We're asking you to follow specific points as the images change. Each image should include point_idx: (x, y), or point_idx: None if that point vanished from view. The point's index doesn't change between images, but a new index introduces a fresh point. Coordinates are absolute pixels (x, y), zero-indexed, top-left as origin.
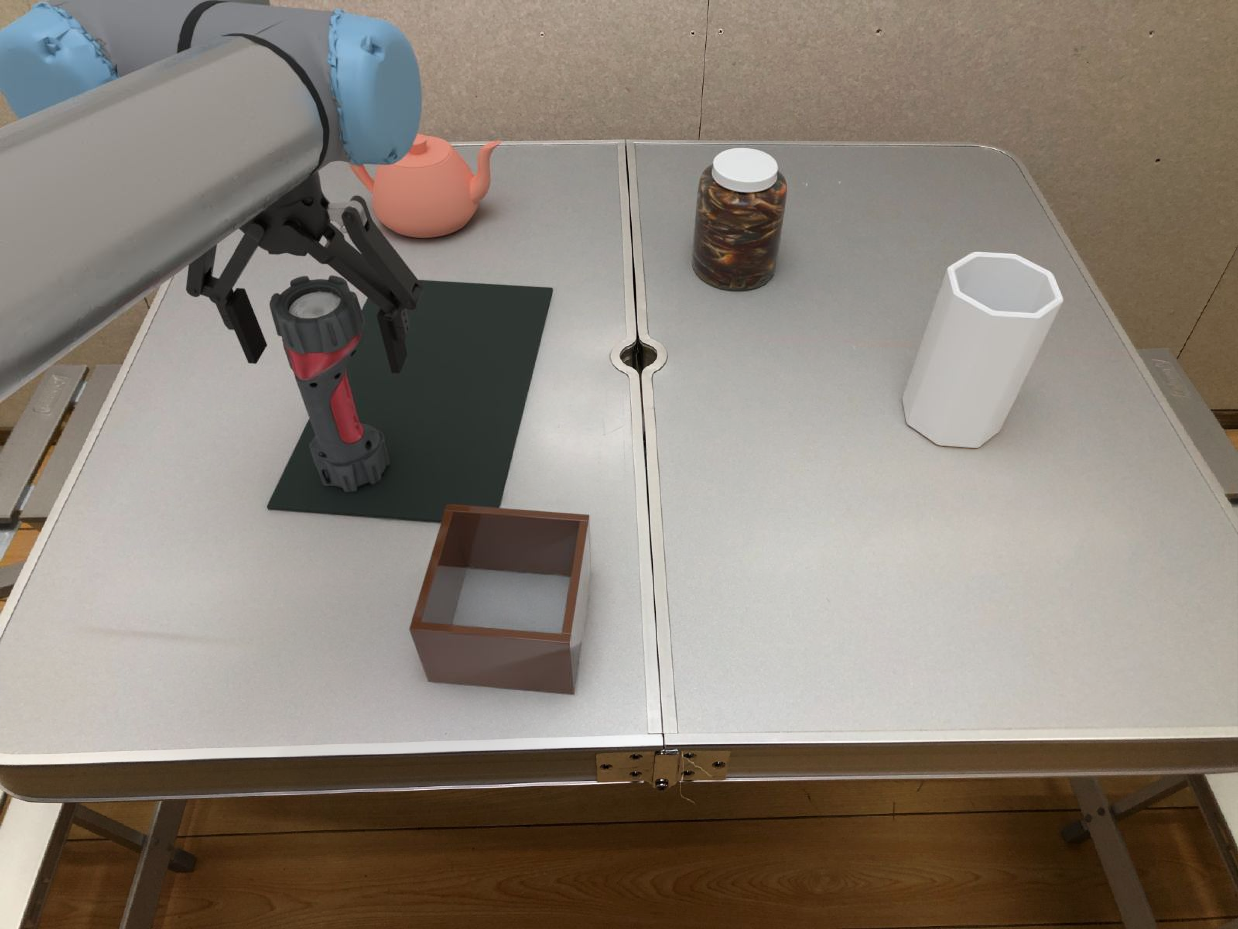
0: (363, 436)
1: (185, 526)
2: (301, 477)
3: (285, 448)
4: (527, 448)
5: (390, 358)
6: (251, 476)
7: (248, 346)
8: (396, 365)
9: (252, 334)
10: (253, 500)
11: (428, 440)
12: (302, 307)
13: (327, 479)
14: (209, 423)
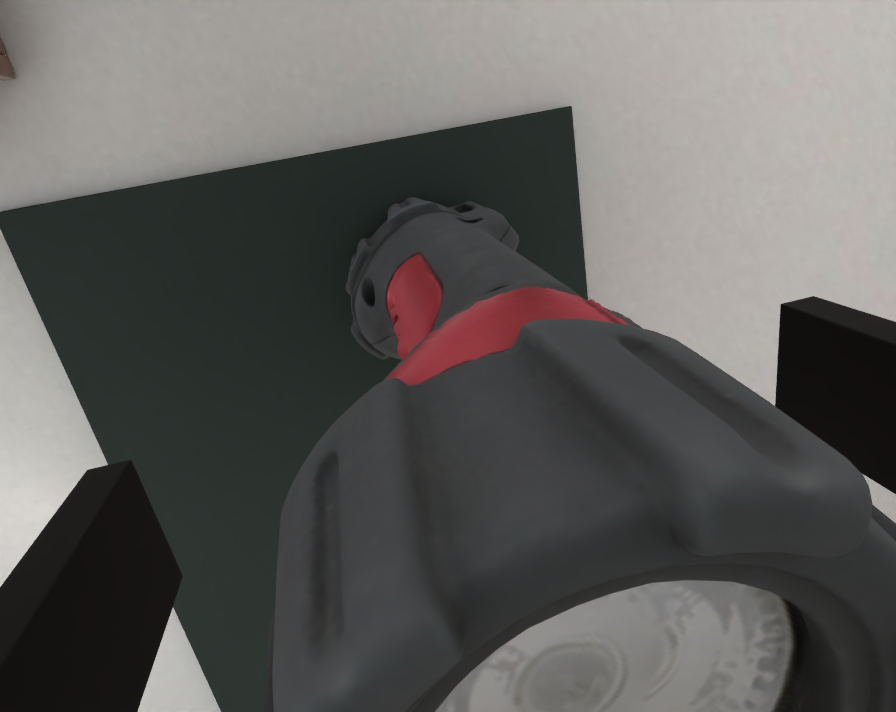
0: (385, 305)
1: (722, 6)
2: (534, 213)
3: (607, 285)
4: (76, 459)
5: (76, 522)
6: (643, 189)
7: (871, 334)
8: (72, 499)
9: (883, 406)
10: (610, 124)
11: (308, 401)
12: (702, 673)
13: (464, 210)
14: (783, 298)
